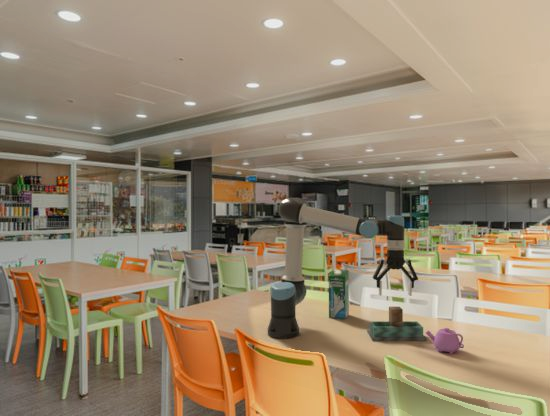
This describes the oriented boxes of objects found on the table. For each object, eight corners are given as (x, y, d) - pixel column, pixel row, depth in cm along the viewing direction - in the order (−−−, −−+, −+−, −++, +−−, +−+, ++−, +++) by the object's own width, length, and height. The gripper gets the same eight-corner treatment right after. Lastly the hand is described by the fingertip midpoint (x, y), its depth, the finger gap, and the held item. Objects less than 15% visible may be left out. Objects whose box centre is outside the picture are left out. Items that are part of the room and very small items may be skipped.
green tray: (372, 340, 183) (372, 328, 183) (367, 332, 195) (367, 320, 195) (426, 340, 182) (426, 328, 182) (418, 332, 194) (418, 320, 194)
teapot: (462, 357, 162) (461, 334, 162) (422, 350, 171) (422, 328, 170) (465, 349, 171) (465, 327, 171) (428, 343, 179) (428, 322, 179)
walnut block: (391, 335, 186) (391, 309, 186) (388, 332, 191) (388, 306, 191) (402, 335, 186) (402, 309, 186) (399, 332, 191) (399, 306, 191)
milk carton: (328, 317, 221) (328, 271, 221) (332, 313, 229) (332, 268, 229) (345, 319, 217) (345, 272, 217) (348, 314, 226) (348, 269, 226)
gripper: (369, 249, 185) (369, 296, 185) (425, 250, 184) (425, 297, 184) (366, 247, 192) (366, 292, 193) (420, 248, 191) (419, 293, 192)
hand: (395, 295), depth 189 cm, fingers open, 13 cm apart
